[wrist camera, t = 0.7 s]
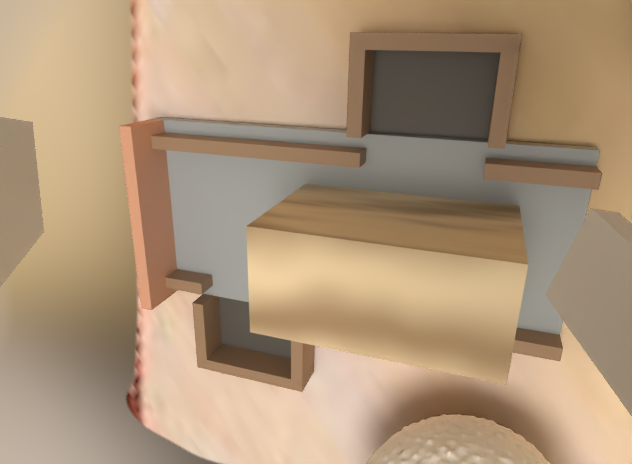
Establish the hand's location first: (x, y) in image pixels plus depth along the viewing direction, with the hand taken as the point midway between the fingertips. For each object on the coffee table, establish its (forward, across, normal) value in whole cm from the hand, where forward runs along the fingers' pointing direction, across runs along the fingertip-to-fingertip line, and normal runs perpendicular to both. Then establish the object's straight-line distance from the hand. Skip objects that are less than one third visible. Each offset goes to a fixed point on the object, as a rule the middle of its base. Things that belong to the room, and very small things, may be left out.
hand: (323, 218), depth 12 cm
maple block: (+20, +10, -12) cm, 25 cm away
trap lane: (+23, +6, -13) cm, 27 cm away
